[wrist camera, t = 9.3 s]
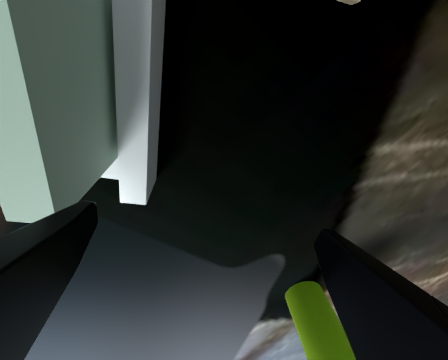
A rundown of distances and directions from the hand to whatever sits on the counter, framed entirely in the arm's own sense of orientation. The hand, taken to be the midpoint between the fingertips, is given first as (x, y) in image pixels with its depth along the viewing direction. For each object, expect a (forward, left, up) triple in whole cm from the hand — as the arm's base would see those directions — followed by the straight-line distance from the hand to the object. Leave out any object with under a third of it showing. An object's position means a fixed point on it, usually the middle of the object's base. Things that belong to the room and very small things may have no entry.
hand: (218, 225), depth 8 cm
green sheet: (+8, -3, -12) cm, 14 cm away
